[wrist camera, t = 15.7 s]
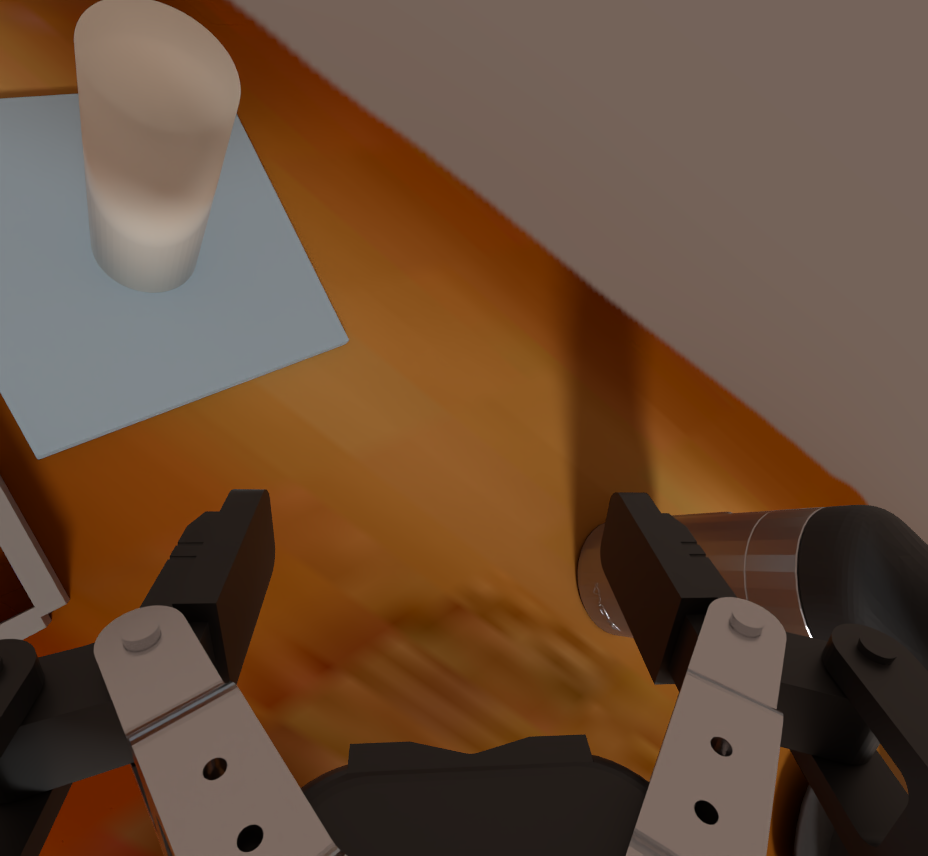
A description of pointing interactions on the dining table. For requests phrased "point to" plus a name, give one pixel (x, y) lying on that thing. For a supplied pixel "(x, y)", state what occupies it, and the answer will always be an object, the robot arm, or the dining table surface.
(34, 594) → the cup holder
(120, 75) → the cream tall cylinder
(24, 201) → the mat
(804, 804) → the casserole
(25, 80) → the dining table surface
